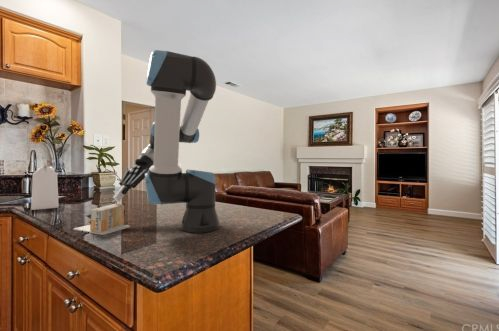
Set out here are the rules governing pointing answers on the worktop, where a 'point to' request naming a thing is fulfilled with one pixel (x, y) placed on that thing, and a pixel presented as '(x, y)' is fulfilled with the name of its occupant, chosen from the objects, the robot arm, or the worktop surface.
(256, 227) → the worktop surface
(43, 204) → the milk
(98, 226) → the supplement box
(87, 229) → the mat
